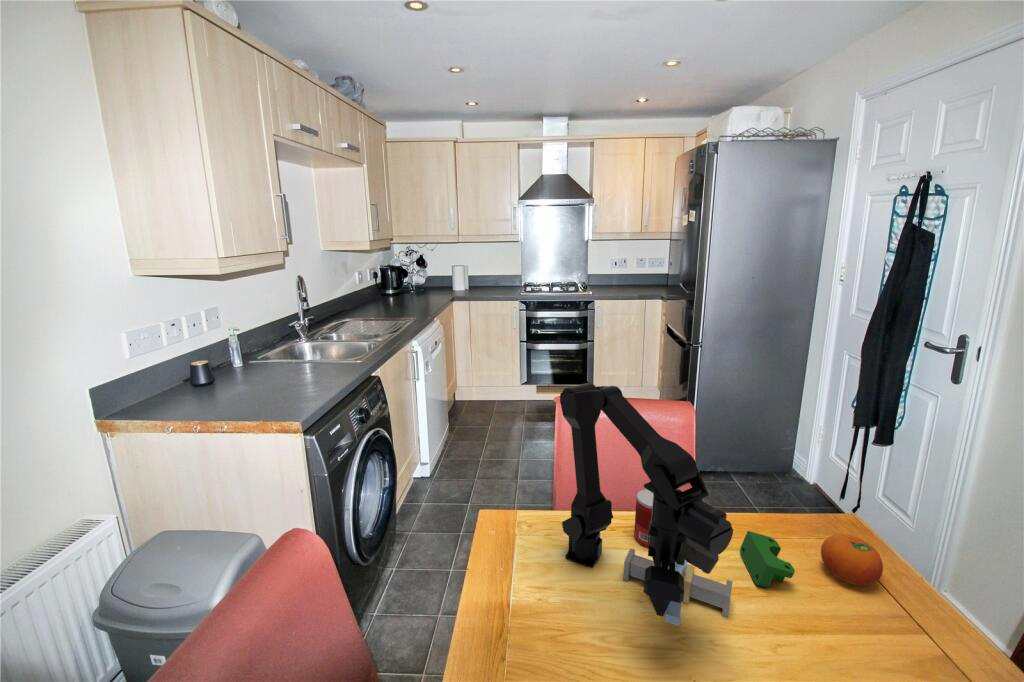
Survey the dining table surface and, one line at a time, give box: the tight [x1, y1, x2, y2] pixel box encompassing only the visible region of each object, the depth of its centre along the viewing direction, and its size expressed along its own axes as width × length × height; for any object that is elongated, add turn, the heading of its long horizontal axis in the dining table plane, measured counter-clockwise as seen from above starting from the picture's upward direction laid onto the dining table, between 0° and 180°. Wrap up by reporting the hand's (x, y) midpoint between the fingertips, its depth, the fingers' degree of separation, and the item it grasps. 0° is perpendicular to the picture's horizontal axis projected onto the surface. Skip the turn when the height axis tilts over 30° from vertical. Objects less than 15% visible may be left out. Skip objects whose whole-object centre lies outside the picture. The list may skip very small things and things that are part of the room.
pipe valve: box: [622, 548, 733, 618], centre depth 94 cm, size 20×5×5 cm, turn 61°
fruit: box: [820, 533, 884, 586], centre depth 98 cm, size 11×10×8 cm
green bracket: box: [739, 530, 796, 588], centre depth 99 cm, size 12×6×9 cm, turn 166°
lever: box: [664, 560, 688, 627], centre depth 87 cm, size 4×17×2 cm, turn 158°
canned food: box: [633, 488, 653, 549], centre depth 109 cm, size 8×8×11 cm
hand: (660, 595), depth 86 cm, fingers open, 9 cm apart
